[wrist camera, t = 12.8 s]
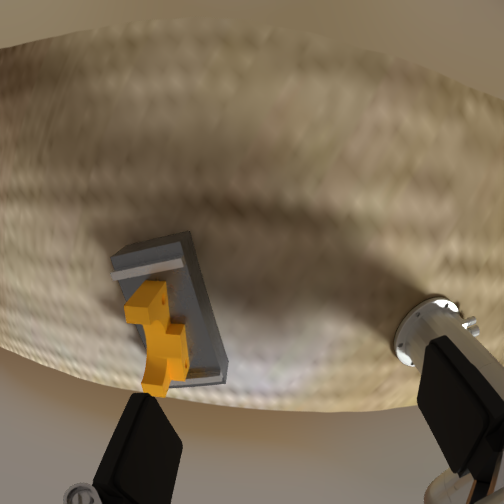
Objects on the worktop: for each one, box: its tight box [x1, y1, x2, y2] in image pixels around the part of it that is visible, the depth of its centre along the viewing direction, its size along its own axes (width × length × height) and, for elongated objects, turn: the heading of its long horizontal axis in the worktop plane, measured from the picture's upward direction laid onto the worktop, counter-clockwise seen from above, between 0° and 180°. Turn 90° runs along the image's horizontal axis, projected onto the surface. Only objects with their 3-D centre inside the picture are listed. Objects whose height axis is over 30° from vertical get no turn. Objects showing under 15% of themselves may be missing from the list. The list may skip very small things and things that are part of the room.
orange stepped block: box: [124, 280, 190, 398], centre depth 31 cm, size 12×4×6 cm, turn 179°
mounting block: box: [110, 231, 229, 388], centre depth 36 cm, size 9×20×6 cm, turn 12°
